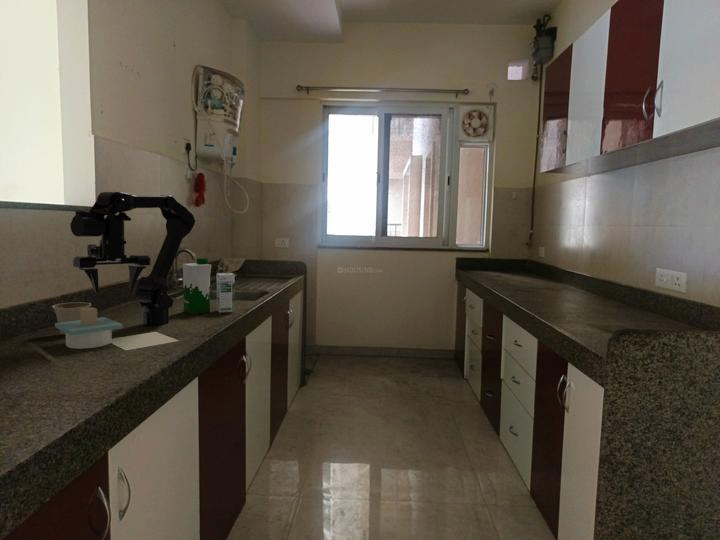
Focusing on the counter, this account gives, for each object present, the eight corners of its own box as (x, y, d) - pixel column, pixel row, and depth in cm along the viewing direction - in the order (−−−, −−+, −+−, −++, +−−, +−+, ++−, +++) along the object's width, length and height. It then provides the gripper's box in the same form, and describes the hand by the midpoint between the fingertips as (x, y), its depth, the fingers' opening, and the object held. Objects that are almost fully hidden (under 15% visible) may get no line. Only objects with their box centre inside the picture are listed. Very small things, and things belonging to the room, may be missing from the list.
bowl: (102, 339, 125) (102, 321, 124) (117, 346, 118) (116, 327, 118) (61, 345, 117) (60, 327, 117) (74, 353, 111) (73, 333, 110)
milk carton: (213, 312, 167) (213, 259, 165) (189, 315, 160) (189, 259, 159) (203, 308, 173) (203, 257, 171) (180, 311, 167) (179, 258, 165)
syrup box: (219, 313, 166) (219, 274, 165) (216, 310, 172) (216, 272, 170) (234, 312, 169) (235, 273, 168) (231, 309, 174) (231, 272, 173)
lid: (105, 320, 126) (104, 303, 125) (122, 328, 118) (122, 309, 118) (55, 327, 117) (54, 308, 116) (70, 335, 109) (70, 315, 109)
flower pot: (73, 339, 124) (72, 309, 123) (44, 337, 125) (43, 306, 125) (99, 332, 133) (99, 303, 132) (72, 329, 135) (71, 301, 134)
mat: (155, 334, 132) (155, 331, 132) (179, 343, 123) (179, 340, 123) (104, 342, 122) (104, 339, 122) (126, 353, 113) (125, 350, 112)
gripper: (134, 235, 139) (135, 285, 140) (65, 235, 125) (67, 290, 126) (151, 237, 132) (151, 289, 133) (79, 236, 117) (81, 295, 119)
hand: (114, 291), depth 128 cm, fingers open, 9 cm apart
